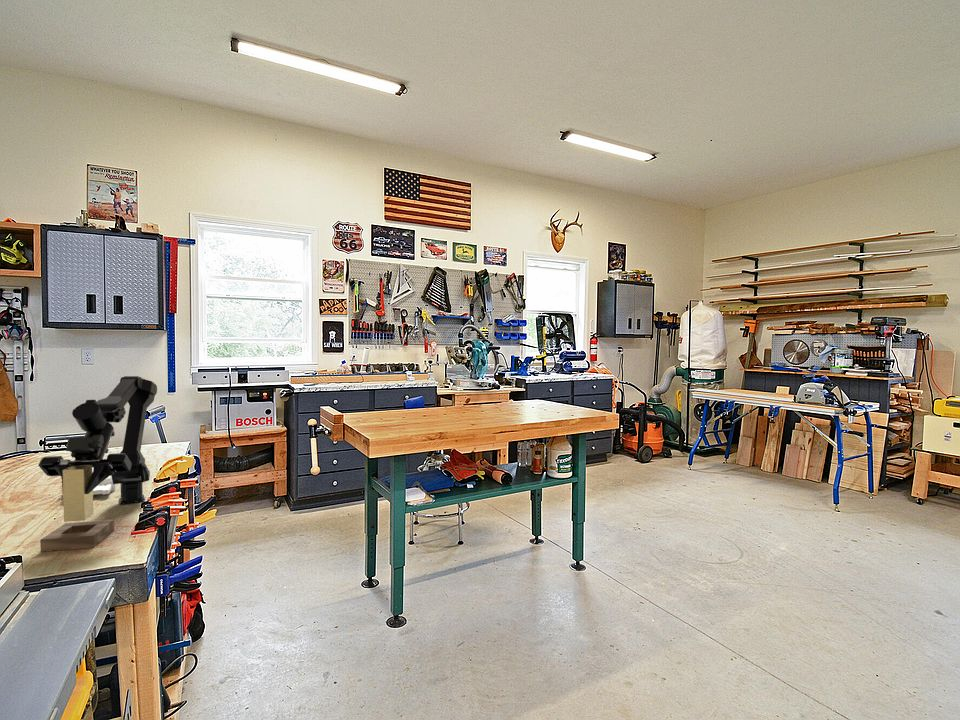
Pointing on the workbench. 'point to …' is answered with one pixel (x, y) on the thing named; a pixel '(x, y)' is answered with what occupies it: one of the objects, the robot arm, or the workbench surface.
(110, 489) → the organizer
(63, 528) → the walnut block
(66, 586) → the workbench surface
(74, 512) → the pale yellow rectangular block
